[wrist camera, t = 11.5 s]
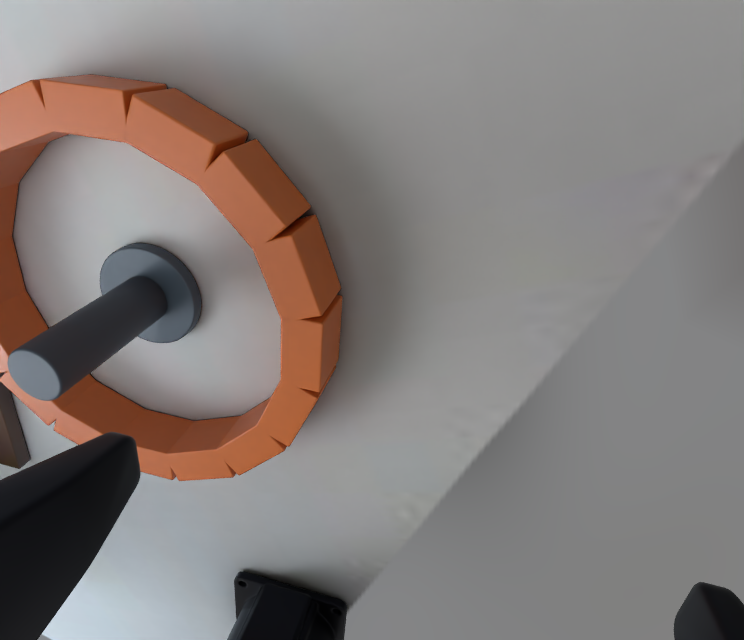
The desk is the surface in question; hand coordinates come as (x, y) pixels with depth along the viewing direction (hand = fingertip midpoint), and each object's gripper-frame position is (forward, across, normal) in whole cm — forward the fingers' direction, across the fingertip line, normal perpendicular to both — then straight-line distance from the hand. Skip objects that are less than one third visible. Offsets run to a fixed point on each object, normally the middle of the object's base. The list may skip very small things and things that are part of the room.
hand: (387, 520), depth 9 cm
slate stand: (+12, +12, +4) cm, 18 cm away
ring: (+12, +12, +4) cm, 18 cm away
